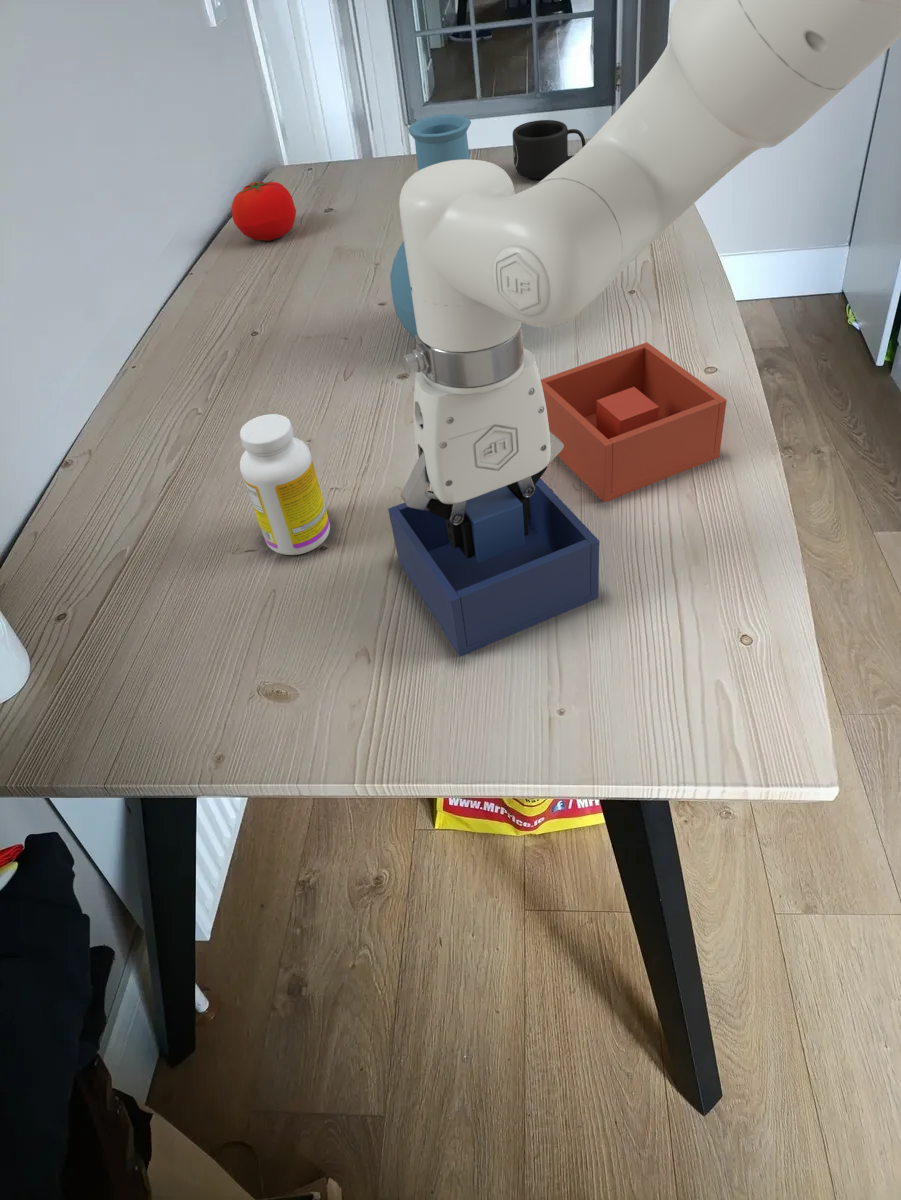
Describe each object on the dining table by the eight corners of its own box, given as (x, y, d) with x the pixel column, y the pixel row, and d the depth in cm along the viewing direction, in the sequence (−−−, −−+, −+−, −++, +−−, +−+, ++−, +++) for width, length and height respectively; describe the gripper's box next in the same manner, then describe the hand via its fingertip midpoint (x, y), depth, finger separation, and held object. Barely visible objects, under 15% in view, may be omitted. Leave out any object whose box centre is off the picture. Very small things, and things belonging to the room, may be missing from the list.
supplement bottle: (340, 517, 89) (312, 409, 80) (318, 561, 85) (286, 451, 76) (280, 512, 91) (246, 405, 82) (255, 555, 87) (216, 447, 78)
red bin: (643, 396, 99) (646, 341, 94) (719, 457, 89) (726, 399, 85) (537, 436, 96) (534, 381, 91) (604, 502, 86) (605, 445, 82)
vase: (375, 357, 111) (335, 148, 94) (434, 297, 121) (408, 97, 104) (494, 376, 105) (476, 155, 87) (545, 311, 115) (538, 101, 97)
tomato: (312, 231, 142) (300, 178, 136) (259, 255, 138) (245, 200, 132) (280, 219, 148) (267, 166, 142) (228, 241, 143) (213, 188, 137)
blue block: (501, 516, 79) (498, 476, 76) (525, 544, 76) (522, 504, 73) (456, 533, 78) (451, 493, 75) (478, 563, 75) (474, 522, 72)
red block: (632, 423, 94) (634, 386, 91) (656, 443, 91) (659, 406, 88) (596, 436, 93) (596, 400, 90) (619, 458, 90) (620, 420, 87)
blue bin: (525, 514, 86) (521, 458, 82) (598, 598, 77) (599, 540, 72) (399, 563, 83) (387, 508, 79) (459, 657, 74) (451, 601, 69)
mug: (515, 186, 146) (513, 141, 141) (513, 167, 153) (511, 122, 148) (588, 179, 145) (588, 132, 140) (583, 159, 152) (583, 114, 147)
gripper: (383, 410, 59) (419, 599, 72) (599, 336, 63) (596, 528, 76) (346, 362, 64) (385, 547, 77) (548, 296, 68) (553, 483, 81)
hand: (490, 536), depth 77 cm, fingers closed on blue block, 4 cm apart
